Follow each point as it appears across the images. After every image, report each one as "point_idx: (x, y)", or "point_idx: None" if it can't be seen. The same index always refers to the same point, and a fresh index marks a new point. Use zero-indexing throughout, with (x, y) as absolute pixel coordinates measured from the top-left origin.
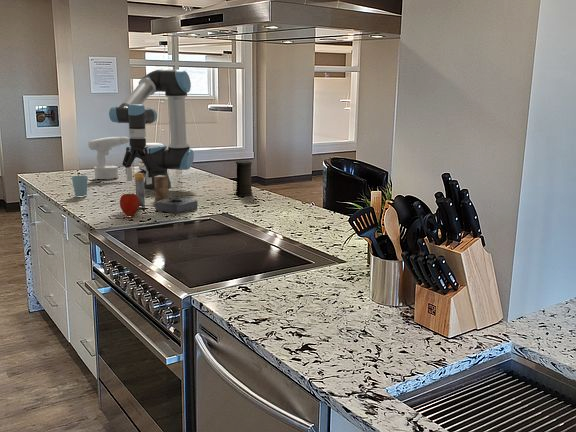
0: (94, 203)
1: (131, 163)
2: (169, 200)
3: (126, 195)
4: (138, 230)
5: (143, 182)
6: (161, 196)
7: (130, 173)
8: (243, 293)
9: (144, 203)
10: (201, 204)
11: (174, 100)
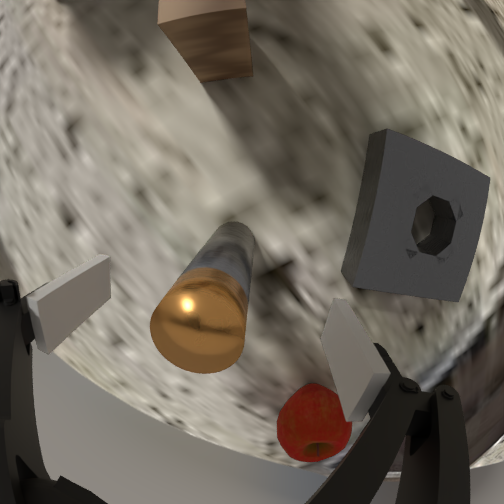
0: None
1: (18, 340)
2: (403, 227)
3: (304, 449)
4: None
5: (247, 288)
6: (238, 69)
7: (76, 294)
8: (499, 445)
9: (253, 240)
10: (443, 94)
11: None
